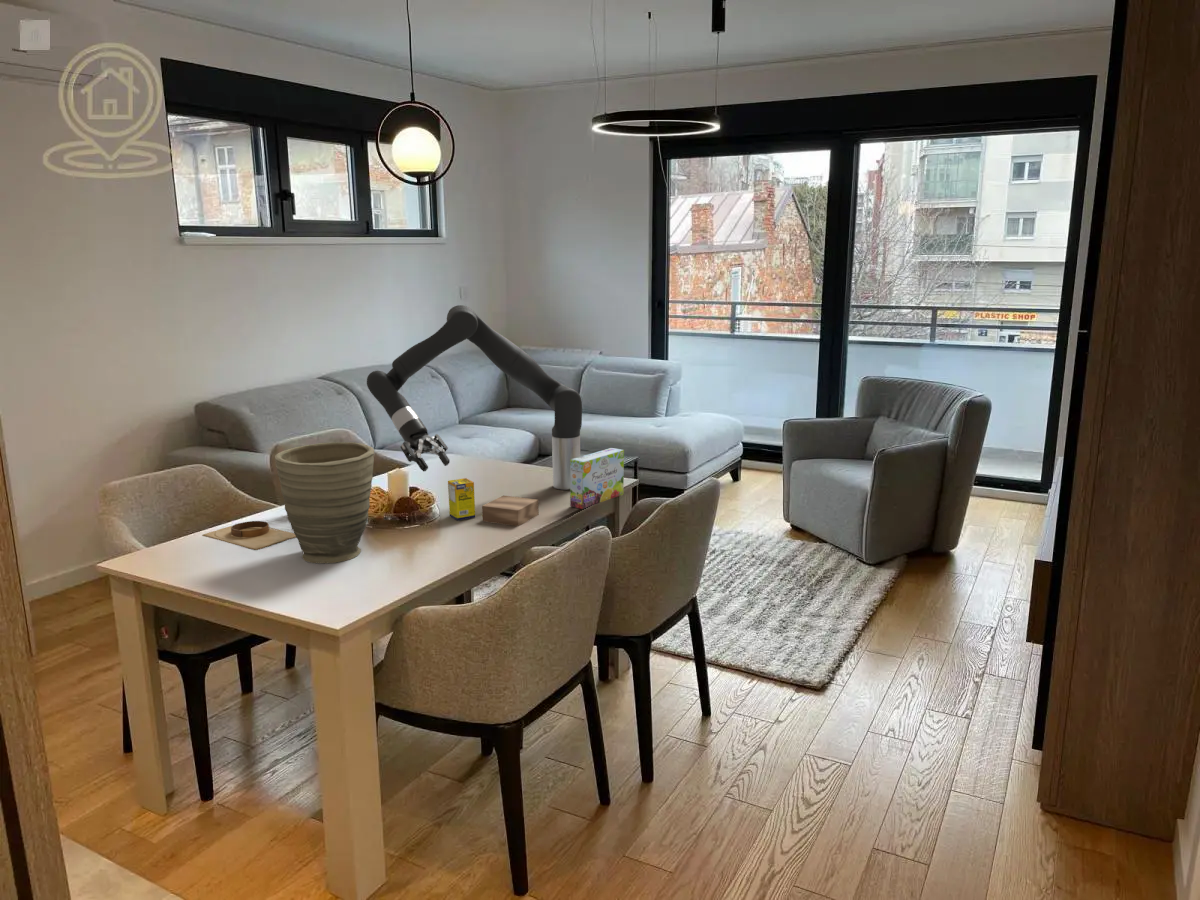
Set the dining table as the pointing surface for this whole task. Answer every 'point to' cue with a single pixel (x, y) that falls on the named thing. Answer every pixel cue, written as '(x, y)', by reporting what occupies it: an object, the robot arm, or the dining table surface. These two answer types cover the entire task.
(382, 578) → the dining table surface
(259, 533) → the board
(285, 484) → the vase
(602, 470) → the snack box
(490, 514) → the walnut block
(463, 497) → the supplement box
